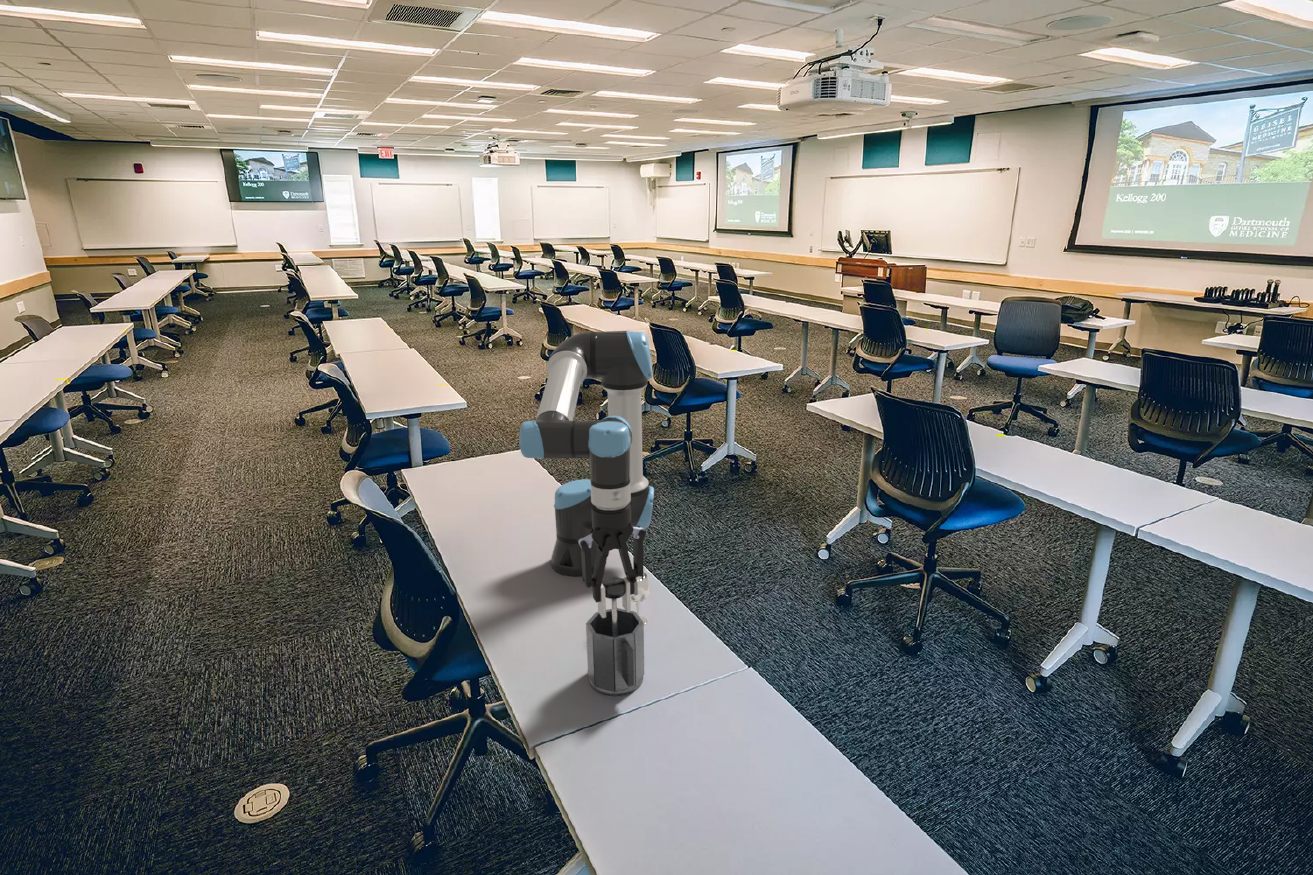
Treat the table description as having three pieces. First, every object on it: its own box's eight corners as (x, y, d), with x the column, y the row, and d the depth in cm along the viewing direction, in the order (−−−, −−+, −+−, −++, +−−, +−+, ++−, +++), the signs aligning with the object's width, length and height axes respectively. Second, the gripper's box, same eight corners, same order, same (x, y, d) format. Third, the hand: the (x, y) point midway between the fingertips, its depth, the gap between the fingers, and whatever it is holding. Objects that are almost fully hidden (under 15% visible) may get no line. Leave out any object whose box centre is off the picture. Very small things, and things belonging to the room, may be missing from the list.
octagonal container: (582, 669, 145) (579, 615, 141) (631, 656, 149) (630, 603, 145) (604, 711, 132) (602, 652, 129) (657, 695, 137) (657, 639, 133)
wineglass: (638, 612, 166) (637, 567, 163) (655, 621, 162) (654, 575, 159) (620, 621, 162) (619, 576, 159) (637, 631, 159) (636, 584, 155)
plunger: (594, 666, 143) (590, 577, 137) (626, 657, 146) (624, 570, 140) (605, 686, 137) (602, 594, 131) (638, 677, 140) (637, 586, 134)
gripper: (572, 518, 124) (577, 631, 131) (661, 503, 131) (662, 611, 137) (560, 503, 131) (566, 611, 138) (646, 489, 137) (647, 593, 144)
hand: (614, 611), depth 137 cm, fingers open, 4 cm apart
